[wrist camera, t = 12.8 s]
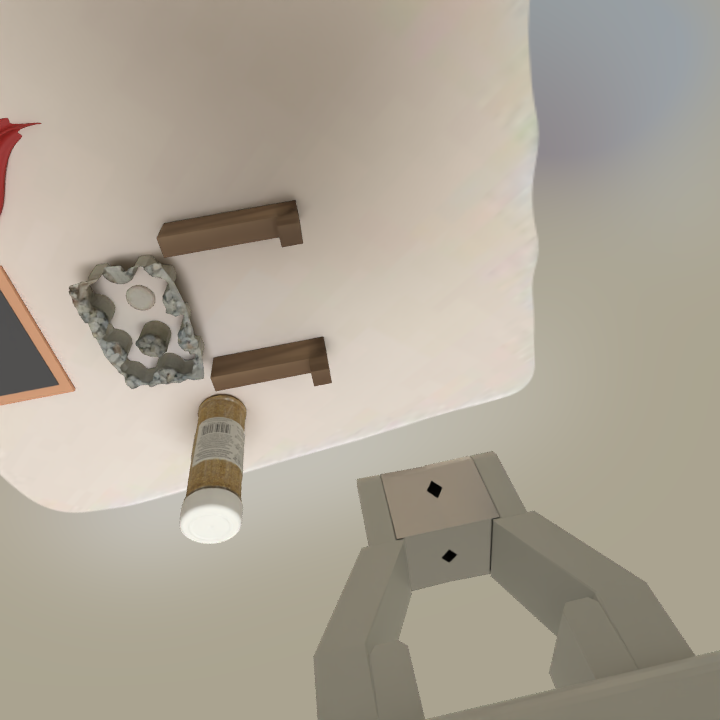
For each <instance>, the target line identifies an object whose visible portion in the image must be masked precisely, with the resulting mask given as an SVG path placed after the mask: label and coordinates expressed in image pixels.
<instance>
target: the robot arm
mask: <svg viewBox="0 0 720 720" xmlns="http://www.w3.org/2000/svg"><path fill="white" fill-rule="evenodd" d="M357 487H358V493H359V498H360V503H361V509H362V514H363V519H364V524H365V530H366V534H367V540H368V545H369V546H367V547H363V548H362V549H361V551H360V553H359V555H358V558H357V560H356V562H355V565H354V567H353V569H352V571H351V573H350V576H349V578H348V580H347V582H346V585H345V587H344V589H343V591H342V594H341V596H340V598H339V600H338V602H337V605H336V607H335V609H334V611H333V614H332V616H331V618H330V620H329V623H328V625H327V627H326V629H325V632H324V634H323V636H322V638H321V641H320V643H319V645H318V648H317V650H316V652H315V654H314V671H315V686H316V701H317V717H318V720H720V650H719V651H715V652H711V653H707V654H702V655H698V656H695V654H694V653H693V651H692V650H691V648H690V647H689V645H688V644H687V643H686V641H685V640H684V638H683V637H682V635H681V634H680V632H679V631H678V629H677V628H676V626H675V625H674V623H673V622H672V620H671V619H670V617H669V616H668V614H667V613H666V611H665V610H664V608H663V607H662V605H661V604H660V602H659V601H658V599H657V598H656V596H655V595H654V593H653V592H652V590H651V589H650V587H649V586H648V584H647V583H646V582H645V581H643V580H642V579H640V578H639V577H637V576H635V575H634V574H632V573H631V572H629V571H628V570H626V569H624V568H623V567H621V566H620V565H618V564H617V563H615V562H614V561H612V560H610V559H609V558H607V557H606V556H604V555H602V554H601V553H599V552H598V551H596V550H595V549H593V548H592V547H590V546H588V545H587V544H585V543H584V542H582V541H581V540H579V539H577V538H576V537H574V536H573V535H571V534H570V533H568V532H566V531H565V530H563V529H562V528H560V527H559V526H557V525H556V524H554V523H552V522H551V521H549V520H548V519H546V518H545V517H543V516H542V515H540V514H538V513H537V512H535V511H530V512H527V511H526V509H525V507H524V505H523V503H522V501H521V500H520V498H519V496H518V494H517V492H516V490H515V488H514V486H513V484H512V483H511V481H510V479H509V477H508V475H507V473H506V471H505V469H504V468H503V466H502V464H501V462H500V460H499V458H498V456H497V454H495V453H494V452H493V451H491V452H486V453H481V454H476V455H472V456H466V457H461V458H456V459H452V460H447V461H443V462H438V463H434V464H429V465H425V466H423V467H418V468H413V469H407V470H401V471H396V472H390V473H385V474H380V475H375V476H370V477H365V478H359V479H357ZM486 574H491V577H492V578H494V579H495V580H496V581H497V582H498V583H499V584H500V585H501V586H502V587H503V588H504V589H505V590H507V591H508V592H509V593H510V594H511V595H512V596H513V597H514V598H515V599H516V600H517V601H519V602H520V603H521V604H522V605H523V606H524V607H525V608H526V609H527V610H528V611H529V612H531V613H532V614H533V615H534V616H535V617H536V618H537V619H538V620H540V622H542V623H543V624H544V625H545V626H546V627H547V628H548V629H549V630H550V631H551V632H552V633H554V634H555V635H556V636H557V640H556V644H555V649H554V653H553V658H552V662H551V666H550V671H549V674H550V676H551V679H552V681H553V683H554V686H555V688H556V689H553V690H548V691H544V692H540V693H536V694H531V695H528V696H523V697H518V698H514V699H510V700H506V701H501V702H497V703H493V704H489V705H485V706H480V707H476V708H472V709H467V710H463V711H459V712H454V713H450V714H446V715H442V716H438V717H433V718H429V719H425V717H424V713H423V709H422V704H421V700H420V696H419V692H418V687H417V683H416V679H415V674H414V670H413V666H412V662H411V657H410V653H409V649H408V646H407V645H405V644H404V643H402V642H400V641H399V636H400V633H401V629H402V626H403V622H404V619H405V615H406V612H407V608H408V605H409V601H410V598H411V594H412V593H411V591H414V590H418V589H422V588H426V587H430V586H434V585H438V584H442V583H446V582H450V581H455V580H460V579H466V578H471V577H476V576H481V575H486Z"/></svg>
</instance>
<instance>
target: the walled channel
mask: <svg viewBox="0 0 720 720" xmlns="http://www.w3.org/2000/svg"><path fill="white" fill-rule="evenodd" d="M277 237H280V242H281V246H282V247H286V246H292V245H297V244H303V239H302V233H301V227H300V220H299V215H298V210H297V205H296V200H294V201H288V202H283V203H277V204H271V205H266V206H260V207H255V208H249V209H243V210H238V211H232V212H226V213H221V214H215V215H209V216H204V217H198V218H192V219H187V220H181V221H175V222H170V223H164V224H163V226H162V228H161V230H160V232H159V234H158V236H157V241H158V243H159V246H160V248H161V251H162V254H163V256H164V258H166V257H172V256H177V255H183V254H188V253H194V252H200V251H205V250H211V249H216V248H222V247H227V246H233V245H238V244H244V243H250V242H255V241H261V240H266V239H272V238H277ZM307 373H311V375H312V379H313V383H314V386H318V385H323V384H329V383H332V381H331V376H330V370H329V364H328V359H327V353H326V348H325V343H324V338H323V337H320V338H315V339H309V340H304V341H299V342H294V343H289V344H283V345H278V346H273V347H268V348H262V349H257V350H252V351H247V352H242V353H236V354H231V355H226V356H221V357H215V358H213V365H212V371H211V377H210V378H211V380H212V383H213V386H214V388H215V391H220V390H225V389H230V388H235V387H240V386H245V385H250V384H256V383H261V382H266V381H271V380H276V379H281V378H286V377H291V376H297V375H302V374H307Z"/></svg>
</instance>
